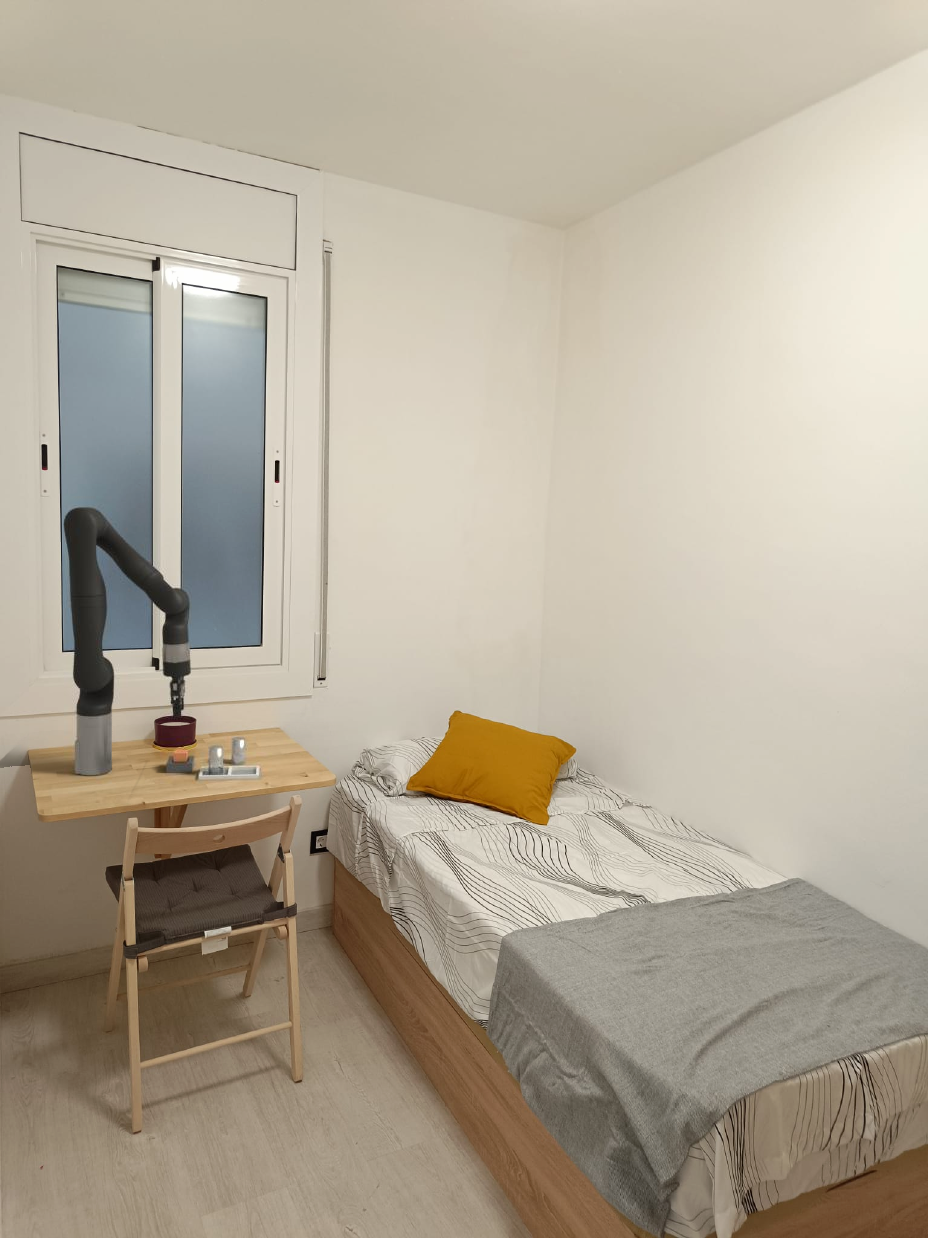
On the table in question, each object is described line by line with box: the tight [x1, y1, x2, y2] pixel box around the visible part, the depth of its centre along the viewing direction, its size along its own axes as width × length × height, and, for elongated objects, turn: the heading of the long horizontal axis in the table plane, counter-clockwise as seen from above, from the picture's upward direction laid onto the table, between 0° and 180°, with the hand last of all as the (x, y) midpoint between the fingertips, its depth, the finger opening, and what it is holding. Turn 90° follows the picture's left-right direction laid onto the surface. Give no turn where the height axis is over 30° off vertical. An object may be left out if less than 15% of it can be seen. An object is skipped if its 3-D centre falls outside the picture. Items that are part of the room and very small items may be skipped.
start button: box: [172, 748, 189, 762], centre depth 242 cm, size 4×4×2 cm
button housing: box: [165, 755, 195, 774], centre depth 242 cm, size 7×7×4 cm
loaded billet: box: [207, 745, 224, 775], centre depth 239 cm, size 4×4×8 cm
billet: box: [230, 736, 247, 766], centre depth 250 cm, size 4×4×8 cm
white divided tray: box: [196, 765, 262, 782], centre depth 240 cm, size 17×10×2 cm, turn 103°
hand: (178, 713), depth 241 cm, fingers open, 8 cm apart
